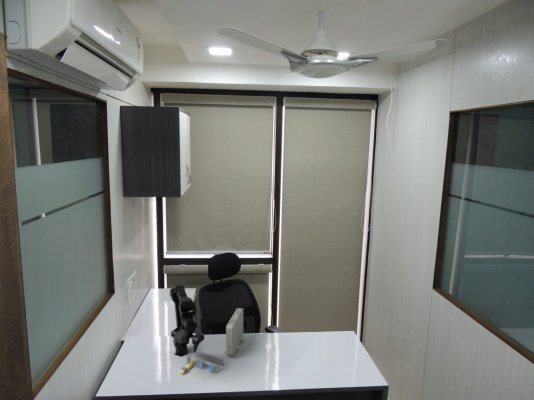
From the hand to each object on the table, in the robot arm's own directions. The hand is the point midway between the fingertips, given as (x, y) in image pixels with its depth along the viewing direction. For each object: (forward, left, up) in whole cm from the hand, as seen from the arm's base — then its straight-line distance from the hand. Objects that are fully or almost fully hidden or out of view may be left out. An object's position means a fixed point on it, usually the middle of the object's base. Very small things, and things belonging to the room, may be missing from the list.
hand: (187, 350), depth 187 cm
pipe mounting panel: (+5, +2, -12) cm, 13 cm away
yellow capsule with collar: (0, 0, -11) cm, 11 cm away
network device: (+10, +31, -12) cm, 35 cm away
